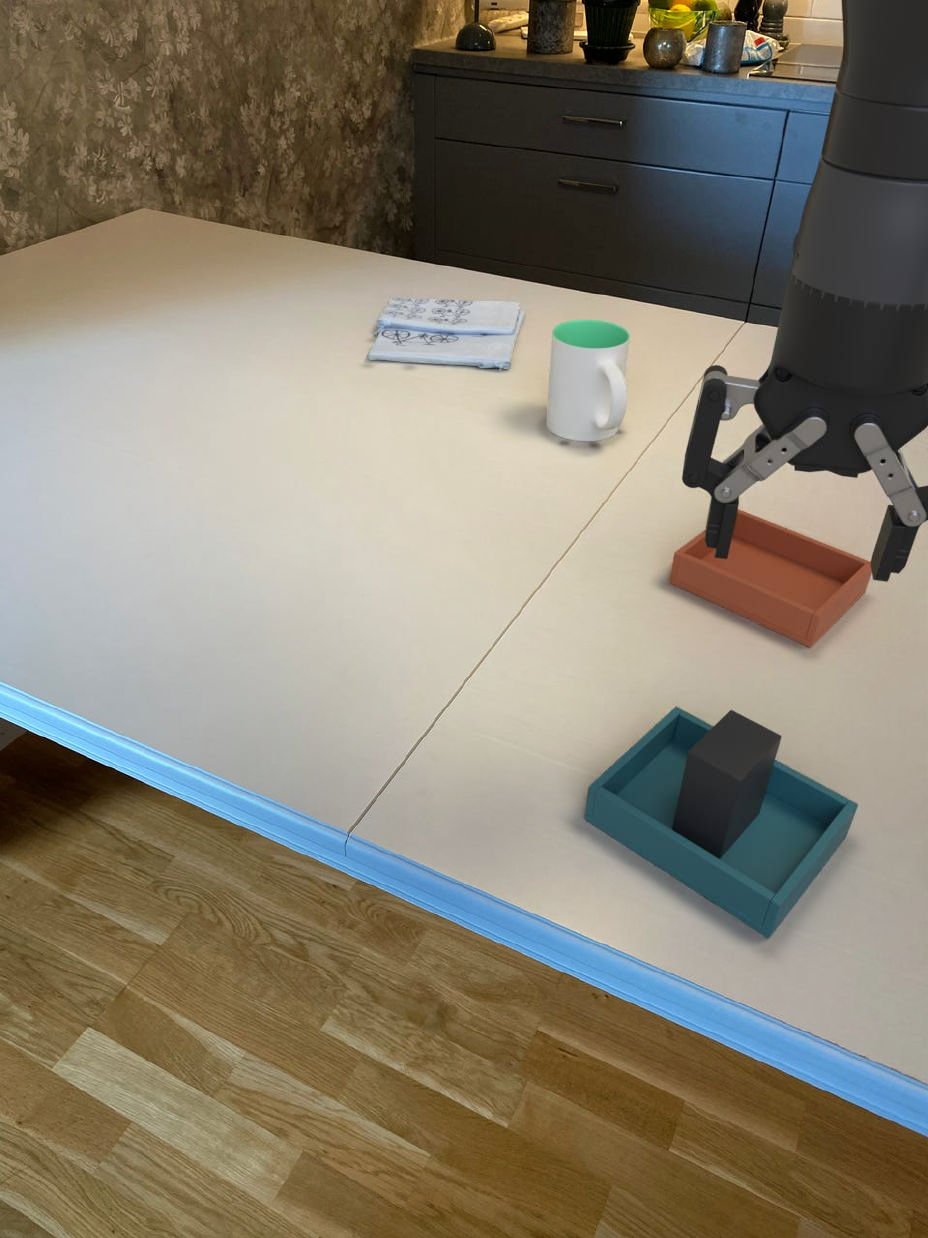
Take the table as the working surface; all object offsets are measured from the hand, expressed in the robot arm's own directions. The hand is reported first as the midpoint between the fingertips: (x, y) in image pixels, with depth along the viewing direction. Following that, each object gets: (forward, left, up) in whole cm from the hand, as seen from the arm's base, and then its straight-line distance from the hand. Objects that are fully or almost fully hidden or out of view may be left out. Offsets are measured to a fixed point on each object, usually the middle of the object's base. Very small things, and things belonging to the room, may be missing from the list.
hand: (798, 562), depth 55 cm
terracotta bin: (+10, -22, -18) cm, 30 cm away
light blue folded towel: (+68, -45, -18) cm, 84 cm away
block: (-1, +4, -18) cm, 18 cm away
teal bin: (-1, +4, -18) cm, 19 cm away
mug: (+38, -36, -18) cm, 55 cm away
